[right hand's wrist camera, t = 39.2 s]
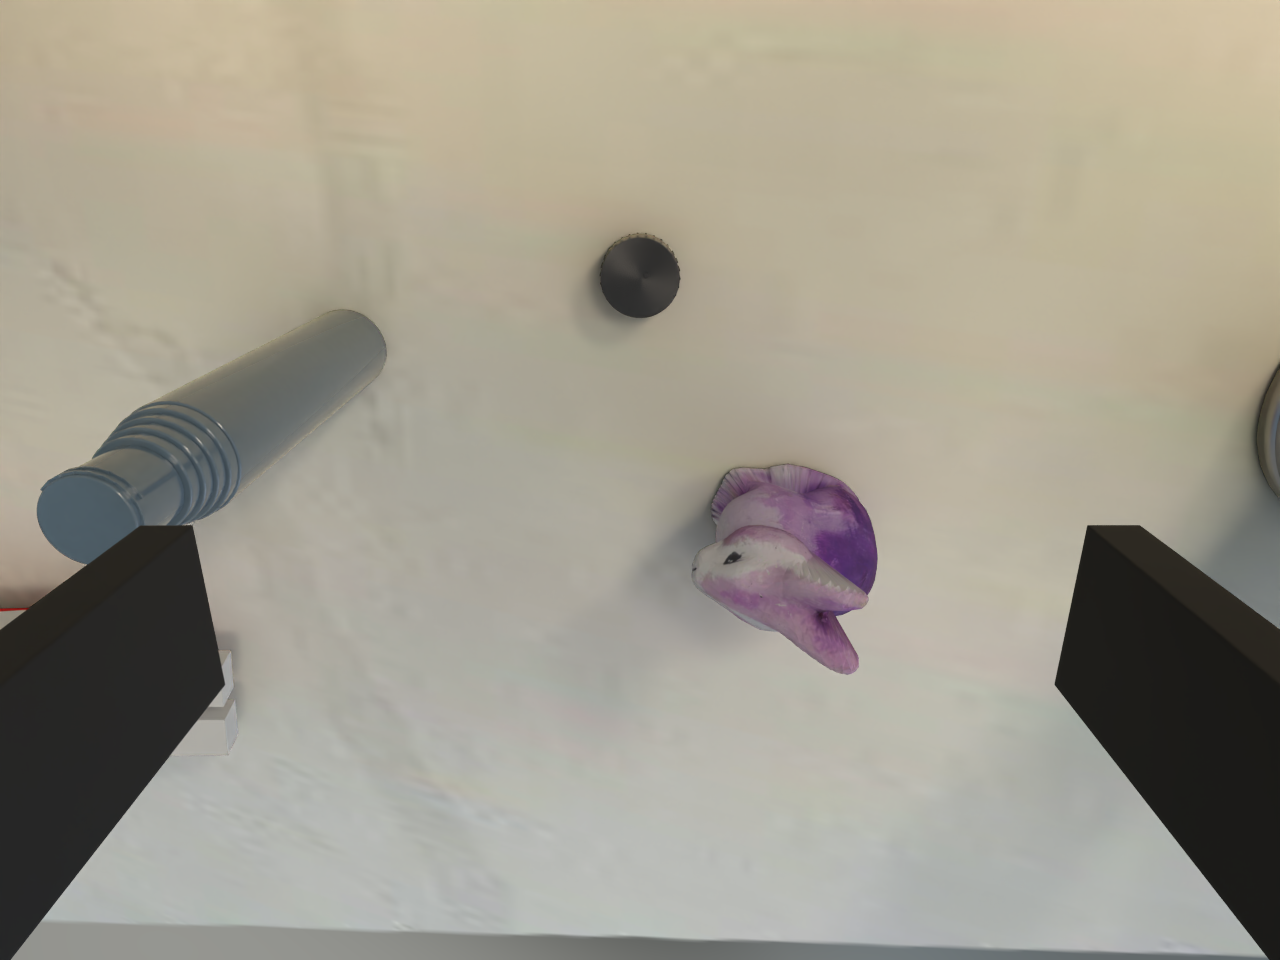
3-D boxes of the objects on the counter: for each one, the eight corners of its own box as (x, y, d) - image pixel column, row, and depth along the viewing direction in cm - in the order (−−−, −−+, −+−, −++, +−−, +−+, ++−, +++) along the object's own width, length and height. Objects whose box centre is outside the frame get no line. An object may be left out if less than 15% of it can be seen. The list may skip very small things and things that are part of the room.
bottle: (402, 350, 49) (192, 525, 26) (351, 401, 51) (106, 613, 27) (342, 292, 48) (65, 421, 25) (291, 346, 49) (-19, 518, 26)
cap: (645, 215, 47) (645, 218, 45) (694, 278, 48) (697, 283, 46) (585, 267, 48) (582, 272, 46) (635, 327, 49) (634, 335, 47)
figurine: (674, 483, 52) (687, 604, 38) (834, 427, 51) (907, 530, 37) (723, 609, 55) (751, 763, 41) (875, 559, 54) (957, 701, 40)
